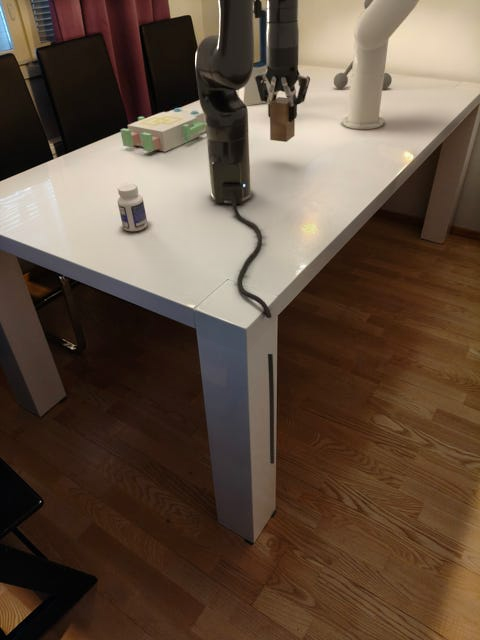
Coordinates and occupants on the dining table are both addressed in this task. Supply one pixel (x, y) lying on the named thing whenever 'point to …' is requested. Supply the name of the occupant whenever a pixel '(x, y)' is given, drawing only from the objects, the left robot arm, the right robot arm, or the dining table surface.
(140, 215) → the pill bottle
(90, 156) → the dining table surface
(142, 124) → the decorative block
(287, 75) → the left robot arm
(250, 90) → the electronic device
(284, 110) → the block
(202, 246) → the dining table surface
